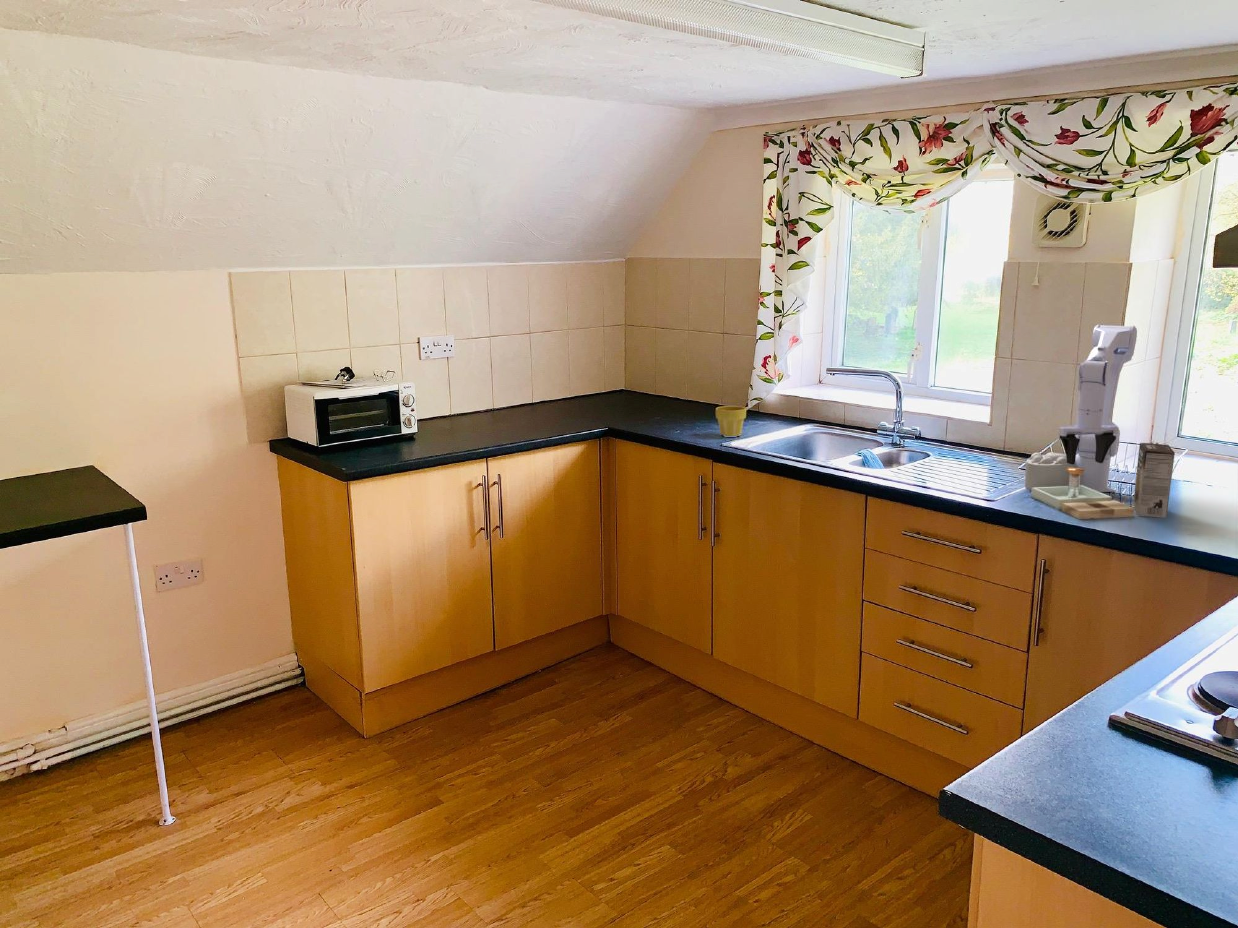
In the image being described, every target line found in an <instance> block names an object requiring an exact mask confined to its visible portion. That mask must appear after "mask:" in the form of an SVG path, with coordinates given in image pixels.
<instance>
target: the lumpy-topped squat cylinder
mask: <svg viewBox="0 0 1238 928" xmlns="http://www.w3.org/2000/svg"><path fill="white" fill-rule="evenodd" d="M1075 464H1076V460H1075ZM1075 464H1073V465H1072V464H1069V463H1067V458H1066V453H1057V452H1052V451H1050V452H1047V453H1046V454H1042V453H1041V452H1039V451H1038V452H1034V453H1032V454H1031V456H1030V457H1028V458H1026V461H1025V477H1024V488H1025V489H1026V488H1027V489H1026V490H1029V491H1031V489H1032V488H1035V487H1056V486H1069V478H1070V473H1068V472H1067V468H1071V467H1074V468H1075Z"/></svg>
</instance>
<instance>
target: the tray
mask: <svg viewBox="0 0 1238 928" xmlns="http://www.w3.org/2000/svg"><path fill="white" fill-rule="evenodd" d="M1068 488H1069V486H1056V487H1035V488H1032V489H1031V490H1030V492H1031V493H1030V498H1032V499H1035V500H1037V501H1038V502H1041V503H1042V504H1045V505H1047V506H1050V507H1051V508H1054V509H1056V510H1062V505H1063V503H1079V502H1099V501H1113V497H1112V496H1111V495H1108V494H1105V493H1104V492H1098V491H1095V490H1093V489H1090V488H1088V487H1085V486H1083V485H1079V494H1078V498H1068Z"/></svg>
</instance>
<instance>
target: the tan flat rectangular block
mask: <svg viewBox="0 0 1238 928" xmlns="http://www.w3.org/2000/svg"><path fill="white" fill-rule="evenodd" d="M1061 512H1063V513H1065V514H1067V515H1069V516H1071V517H1074V518H1076V519H1078V520H1087V519H1088V520H1090V518H1094V519H1108V518H1107V517H1113V518H1129V517H1134V516H1135V512H1136V511H1135V508H1134V507H1133V506H1130V505H1128V504H1126V503H1123V502H1121V501H1119V500H1118V501H1117V500H1112V501H1099V502H1079V503H1063V505H1062V509H1061Z"/></svg>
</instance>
